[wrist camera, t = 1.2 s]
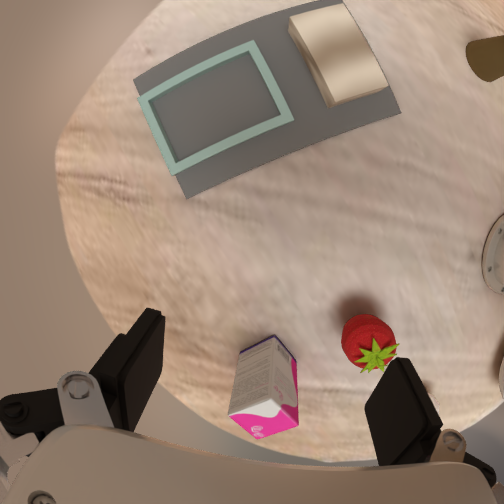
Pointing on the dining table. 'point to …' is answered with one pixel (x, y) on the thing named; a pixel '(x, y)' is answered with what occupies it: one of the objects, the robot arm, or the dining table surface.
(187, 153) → the charcoal mat
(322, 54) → the beige block
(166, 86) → the teal frame
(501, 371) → the serving bowl
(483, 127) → the dining table surface
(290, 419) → the supplement box
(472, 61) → the cork
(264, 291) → the dining table surface
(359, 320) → the strawberry
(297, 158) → the dining table surface
